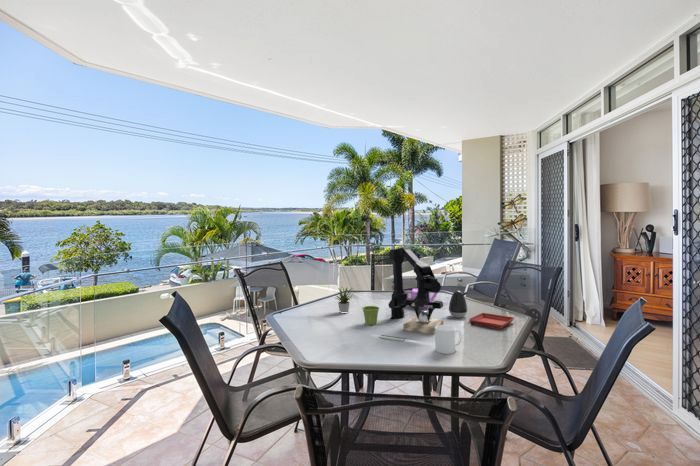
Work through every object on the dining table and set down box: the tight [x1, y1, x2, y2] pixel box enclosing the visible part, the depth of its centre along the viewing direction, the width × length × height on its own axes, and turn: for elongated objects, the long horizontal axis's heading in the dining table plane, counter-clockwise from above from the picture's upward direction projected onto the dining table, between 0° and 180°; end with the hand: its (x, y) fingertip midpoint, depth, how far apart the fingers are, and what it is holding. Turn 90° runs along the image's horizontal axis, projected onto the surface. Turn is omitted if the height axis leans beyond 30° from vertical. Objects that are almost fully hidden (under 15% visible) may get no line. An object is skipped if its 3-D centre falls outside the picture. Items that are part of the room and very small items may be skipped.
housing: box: [402, 315, 445, 335], centre depth 192 cm, size 16×16×4 cm
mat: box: [378, 334, 407, 342], centre depth 182 cm, size 12×12×1 cm
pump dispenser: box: [448, 290, 468, 319], centre depth 215 cm, size 10×10×15 cm
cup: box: [434, 324, 463, 355], centre depth 162 cm, size 8×12×10 cm
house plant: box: [333, 286, 355, 313], centre depth 229 cm, size 14×14×16 cm
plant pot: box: [361, 305, 380, 326], centre depth 204 cm, size 9×9×9 cm
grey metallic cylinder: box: [419, 309, 429, 324], centre depth 192 cm, size 5×5×8 cm
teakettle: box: [405, 288, 439, 310], centre depth 242 cm, size 17×17×12 cm
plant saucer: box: [468, 312, 515, 330], centre depth 200 cm, size 18×18×3 cm
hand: (423, 319), depth 192 cm, fingers closed on grey metallic cylinder, 5 cm apart
